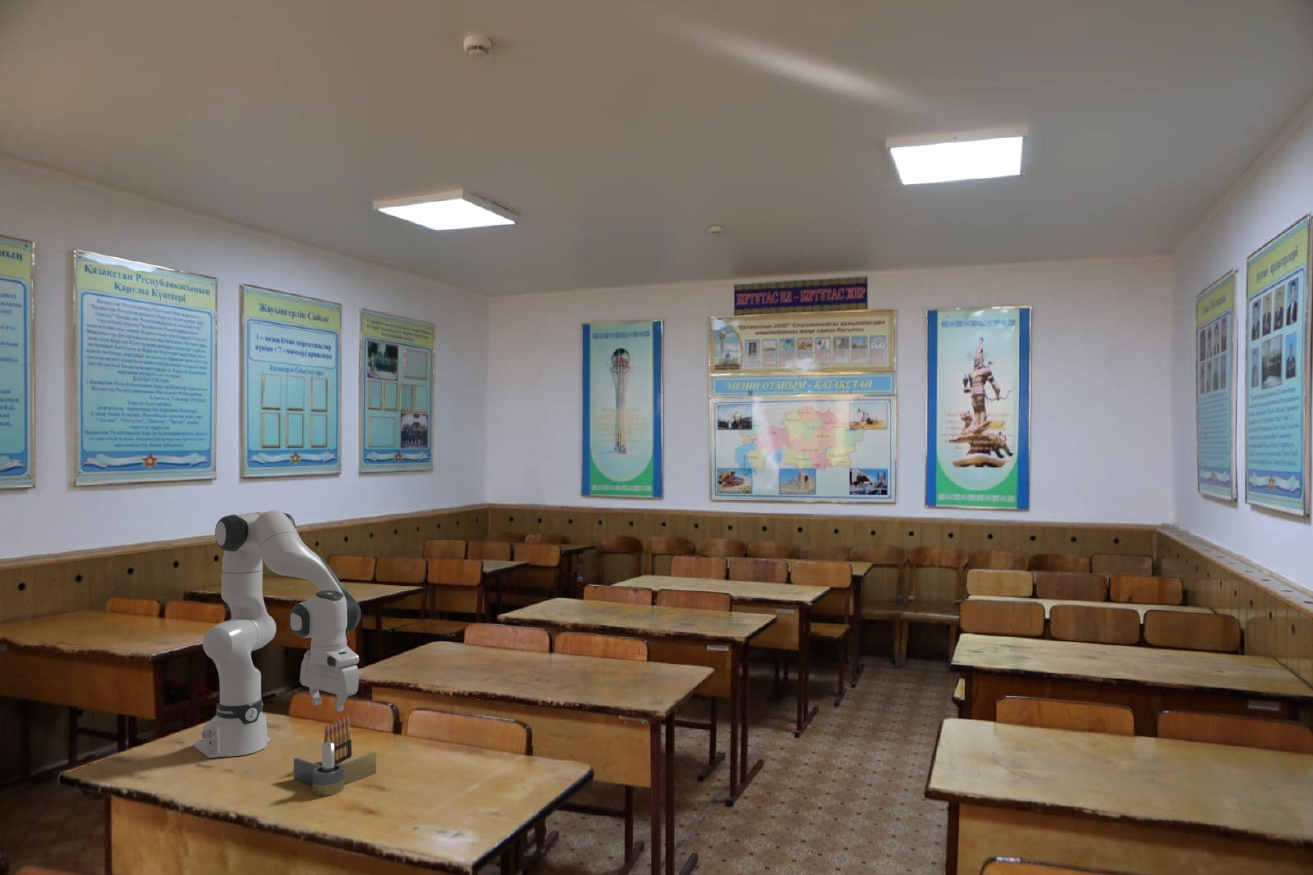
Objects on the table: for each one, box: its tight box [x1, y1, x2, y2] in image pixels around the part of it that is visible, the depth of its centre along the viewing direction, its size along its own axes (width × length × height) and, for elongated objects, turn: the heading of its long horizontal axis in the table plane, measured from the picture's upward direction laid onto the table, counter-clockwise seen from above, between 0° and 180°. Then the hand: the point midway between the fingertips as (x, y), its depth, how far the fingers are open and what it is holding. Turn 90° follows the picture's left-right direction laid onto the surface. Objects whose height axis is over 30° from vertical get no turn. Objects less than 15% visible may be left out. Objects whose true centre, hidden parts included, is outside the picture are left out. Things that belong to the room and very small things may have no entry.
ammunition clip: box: [323, 715, 353, 764], centre depth 243 cm, size 11×2×12 cm, turn 163°
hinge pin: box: [321, 742, 335, 773], centre depth 223 cm, size 3×3×12 cm
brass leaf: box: [312, 752, 377, 797], centre depth 227 cm, size 7×18×6 cm, turn 146°
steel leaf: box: [293, 757, 344, 787], centre depth 226 cm, size 18×7×6 cm, turn 56°
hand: (327, 707), depth 223 cm, fingers open, 8 cm apart
